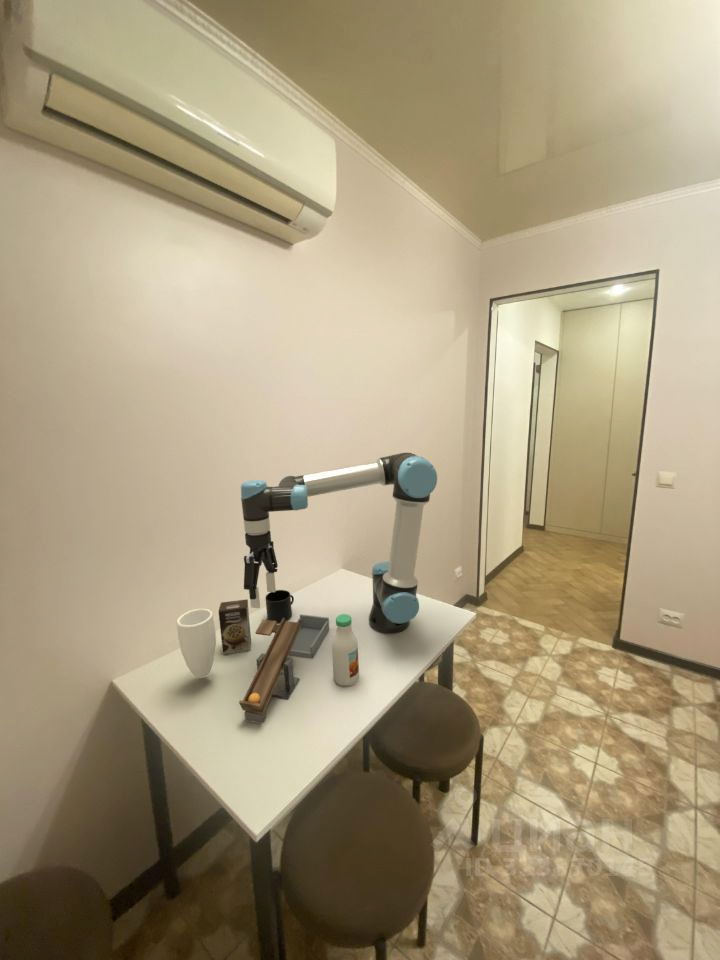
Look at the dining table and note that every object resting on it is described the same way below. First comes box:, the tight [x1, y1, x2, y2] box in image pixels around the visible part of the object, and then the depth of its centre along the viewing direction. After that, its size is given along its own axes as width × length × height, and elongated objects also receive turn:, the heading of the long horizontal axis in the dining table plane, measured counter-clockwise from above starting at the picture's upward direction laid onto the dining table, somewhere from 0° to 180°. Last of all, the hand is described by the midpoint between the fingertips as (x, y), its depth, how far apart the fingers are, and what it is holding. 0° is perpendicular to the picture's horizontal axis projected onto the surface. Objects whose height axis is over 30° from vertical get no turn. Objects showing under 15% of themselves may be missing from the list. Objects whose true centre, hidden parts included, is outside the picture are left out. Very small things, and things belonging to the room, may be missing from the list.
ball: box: [248, 693, 260, 704], centre depth 102 cm, size 3×3×3 cm
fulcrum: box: [256, 653, 300, 700], centre depth 113 cm, size 11×8×9 cm
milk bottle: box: [331, 613, 360, 687], centre depth 114 cm, size 8×8×20 cm
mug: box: [265, 589, 295, 624], centre depth 151 cm, size 9×12×9 cm
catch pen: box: [288, 614, 330, 659], centre depth 134 cm, size 11×16×5 cm
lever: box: [238, 618, 302, 714], centre depth 113 cm, size 14×28×5 cm, turn 165°
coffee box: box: [218, 599, 252, 656], centre depth 131 cm, size 9×6×16 cm
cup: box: [176, 608, 217, 679], centre depth 115 cm, size 10×10×22 cm
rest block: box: [244, 711, 267, 724], centre depth 102 cm, size 5×2×2 cm, turn 75°
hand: (263, 599), depth 122 cm, fingers open, 9 cm apart
